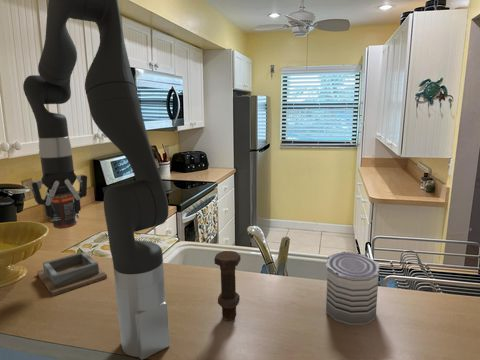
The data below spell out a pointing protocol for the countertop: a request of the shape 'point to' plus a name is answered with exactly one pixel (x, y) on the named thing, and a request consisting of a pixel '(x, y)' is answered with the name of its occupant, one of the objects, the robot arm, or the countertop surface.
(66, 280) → the socket board
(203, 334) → the countertop surface
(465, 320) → the countertop surface
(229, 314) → the bolt
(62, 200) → the supplement bottle
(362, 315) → the can
